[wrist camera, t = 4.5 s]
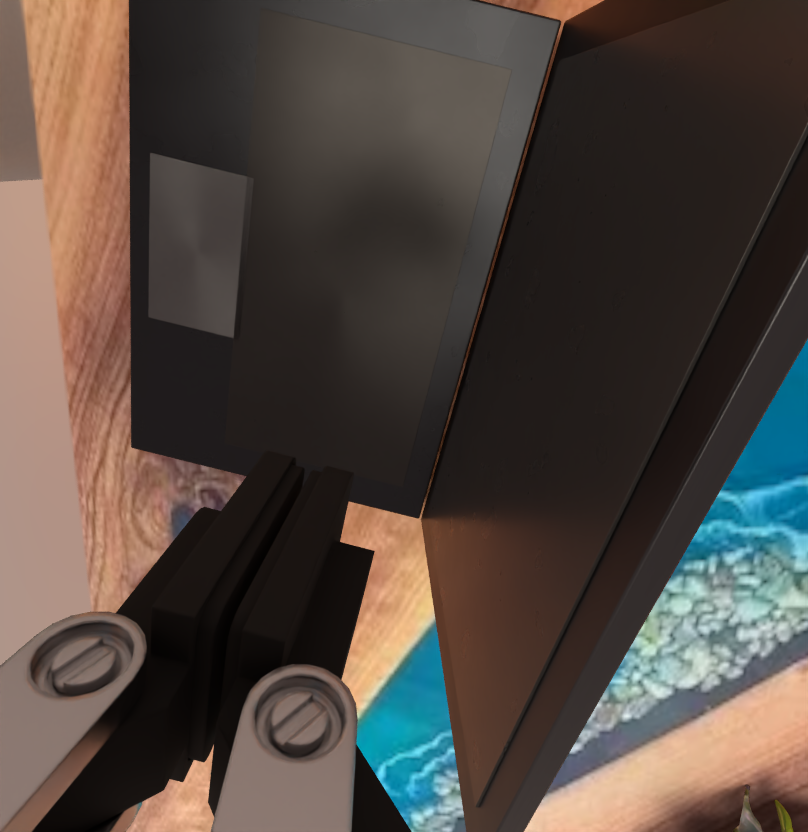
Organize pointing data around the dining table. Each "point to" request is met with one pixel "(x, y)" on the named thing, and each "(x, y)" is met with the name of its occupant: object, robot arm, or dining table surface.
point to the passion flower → (750, 826)
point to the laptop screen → (614, 366)
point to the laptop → (318, 224)
